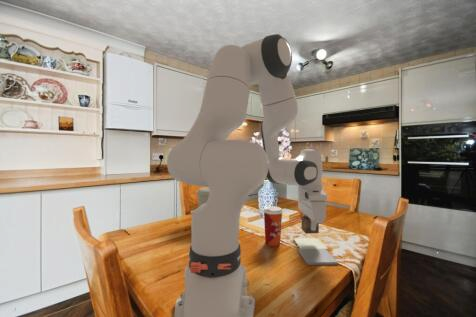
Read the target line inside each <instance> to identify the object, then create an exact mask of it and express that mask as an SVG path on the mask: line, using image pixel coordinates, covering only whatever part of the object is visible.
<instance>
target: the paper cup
mask: <svg viewBox="0 0 476 317" xmlns="http://www.w3.org/2000/svg"><path fill="white" fill-rule="evenodd" d="M262 212H263V220H264V221H263V222H264V223H263V224H264V236H265V237H264V238H265V245H267V246H269V247H278V246H280V245H281V237H282V236H281V235H282V234H281V233H282V222H283V220H282V218H283V217H282V216H283V213H284V211H283V209H282V208H281V207H280V206H274V205H273V206H272V205H271V206H265V207H264V209H263V211H262Z"/></svg>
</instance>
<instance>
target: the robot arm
mask: <svg viewBox="0 0 476 317" xmlns="http://www.w3.org/2000/svg"><path fill="white" fill-rule="evenodd" d="M292 61H293V52H292V49H291V46H290V43H289V41H288V40H287V39H286V38H285V37H284V36H282V35H281V34H279V33H277V34H276V33H275V34H270V35H266V36H265V37H264V38H261V39H258V40H255V41H253V42H251V43H247V44H245V45H243V46H242V47H240V46H239V45H235V44H227V45H225V46H222V47H220V48H219V49H218V50H217V52H216V53H215V54H214V57H213V60H212V62H211V65H210V68H209V71H208V75H207V78H206V82H205V86H204V87H205V88H204V92H203V96H202V97H203V98H202V102H201V106H200V109H199V112H198V115H197V117H196V119H195V121H194V122H193V124H192V126H191V128H190V129H189V130H188V132H187V134H186V135H185V136H184V138H182V140H181V141H180V142H179V143H177V144H175V146H173V147H172V148H171V149H170V151H169V153H168V155H167V160H166V167H167V171H168V173H169V175H170V177H171V178H172V179H173V180H175V181H178V182H180V183H183V184H186V185H189V186H196V187H209V188H210V192H209V197H208V200H207V202H206V203H204V204H202V205H201V206H199V205H198V207H196V209H195V210H194V211H193V213H192V214H191V220H190V221H191V222H190V223H191V224H190V228H191V229H190V230H191V233H190V234H191V235H190V236H191V237H190V238H191V244H190V247H189V252H188V266H186V267H185V268H184V292H183V291H182V292H180V297H178V298H177V299H176V300H175V304H174V316H173V317H255V308H256V299H255V297H253V296H252V295H249V293H248V290H247V288H249V280H247V268H246V267H245V265H243V264H242V263H241V261H242V260H241V256H242V250H241V244H240V243H239V242H240V241H239V239H240V238H239V236H240V234H239V232H240V218H241V211H242V210H243V209H242V208H243V206H244V204H245V202H246V200H247V199H248V197H249V196H250V194H251V193H253V191H255V190H257V189H258V188H259V187H260V186H262V184H263V183H264V182H265V180H266V179H267V180H268V181H269V182H270V183H272V184H275V185H276V184H277V185H278V184H279V185H282V184H283V185H288V186H297V188H298V191H297V192H298V193H297V195H298V197H297V199H298V200H297V207H298V210H299V211H301V212H302V215H303V216H308V217H309V218H310V219H311V225H310V229H311V230H312V231H315V230H316V225H317V223H319V224H323V223H325V220H326V214H327V203H326V201H328V194H327V193H326V192H325V190H324V188H323V180H322V176H323V172H324V171H323V169H324V168H323V157H322V154H321V153H322V152H320V151H319V150H316V149H309V148H304V149H302V150H300V152H299V154H298V155H297V156H296V157H294V158H284V157H282V156H281V155H280V148H279V140H278V137H279V134H280V132H281V131H282V130H283V129H284V128H286V127H288V126H289V125H291V124H292V123H293V122H294V120H295V119H296V117H297V115H298V112H299V111H298V108H299V107H298V102H297V98H296V93H295V89H294V87H293V83H292V81H291V78H290V76H289V74H288V73H289V71H290V69H291V66H292V63H293V62H292ZM255 85H257V86H258V92H259V98H260V101H261V102H260V104H261V106H262V112H263V119H262V121H261V123H260V124H261V125H260V132H261V141H262V145H261V144H260V143H257V142H253V141H248V140H243V139H228V137H229V136H230V135H231V134H232V133H233V132H234V131H236V130H237V129H239V128H240V127H241V126H242V125H243V124H244V122H245V120H246V118H247V112H248V111H247V110H248V106H249V105H248V103H249V98H250V90H251V86H255Z"/></svg>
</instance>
